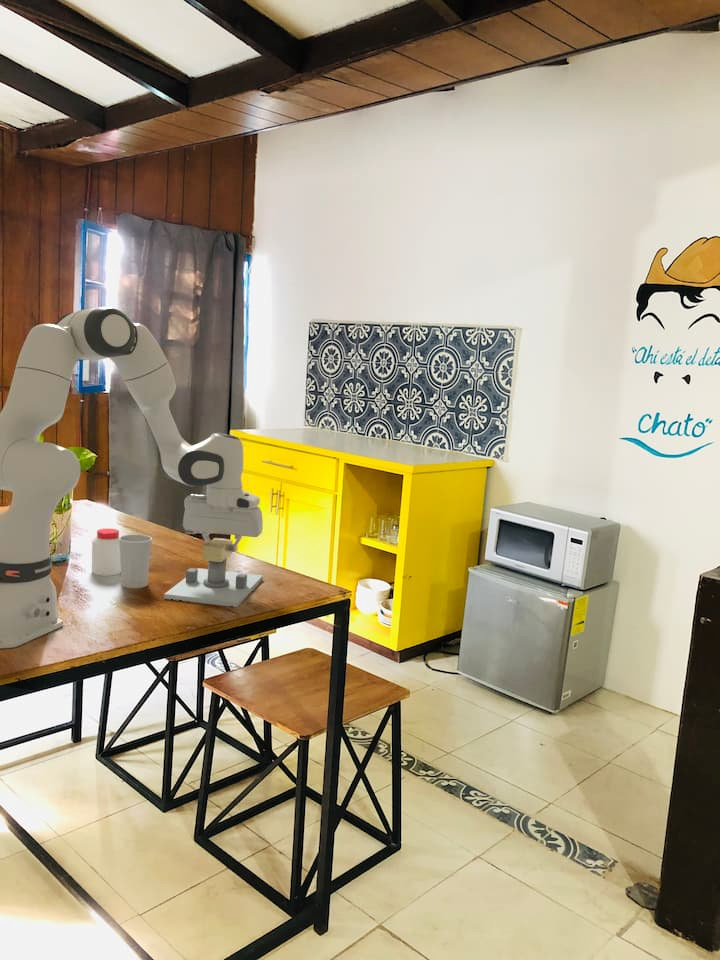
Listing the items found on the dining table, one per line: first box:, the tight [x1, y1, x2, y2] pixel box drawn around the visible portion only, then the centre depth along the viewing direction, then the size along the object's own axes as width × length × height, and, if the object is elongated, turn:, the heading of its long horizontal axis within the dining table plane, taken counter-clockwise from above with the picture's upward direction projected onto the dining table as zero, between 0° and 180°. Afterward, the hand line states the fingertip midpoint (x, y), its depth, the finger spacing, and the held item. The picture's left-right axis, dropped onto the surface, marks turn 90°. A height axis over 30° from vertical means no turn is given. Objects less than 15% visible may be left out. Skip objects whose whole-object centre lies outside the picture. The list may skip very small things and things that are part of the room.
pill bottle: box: [91, 528, 121, 577], centre depth 207 cm, size 8×8×11 cm
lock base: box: [163, 561, 264, 608], centre depth 199 cm, size 24×18×7 cm
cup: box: [119, 533, 153, 589], centre depth 197 cm, size 8×8×12 cm
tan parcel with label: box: [201, 537, 233, 563], centre depth 198 cm, size 9×5×5 cm, turn 172°
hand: (221, 550), depth 201 cm, fingers closed on tan parcel with label, 5 cm apart
